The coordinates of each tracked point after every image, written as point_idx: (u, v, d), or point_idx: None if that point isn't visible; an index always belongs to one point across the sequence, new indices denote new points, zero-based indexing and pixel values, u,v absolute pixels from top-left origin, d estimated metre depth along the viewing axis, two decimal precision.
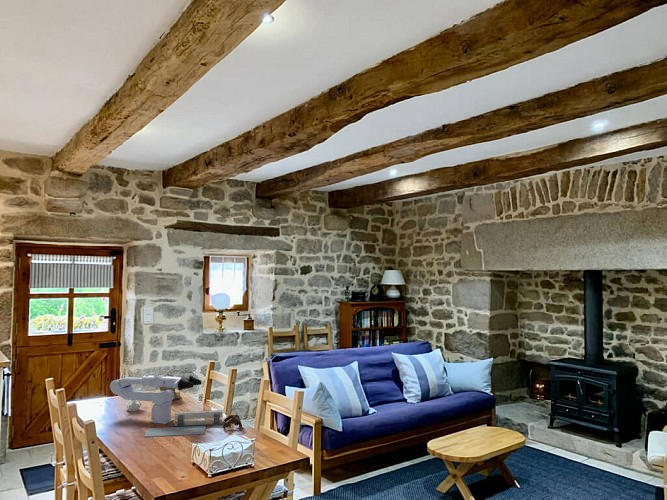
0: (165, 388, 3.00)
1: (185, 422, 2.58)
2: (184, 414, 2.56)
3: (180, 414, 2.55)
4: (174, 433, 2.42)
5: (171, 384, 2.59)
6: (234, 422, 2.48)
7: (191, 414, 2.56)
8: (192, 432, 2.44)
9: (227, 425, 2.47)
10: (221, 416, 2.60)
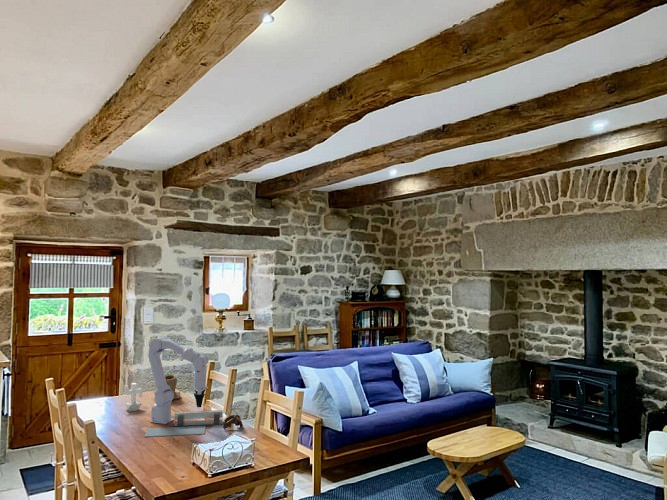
0: None
1: (185, 422, 2.58)
2: (184, 414, 2.56)
3: (180, 414, 2.55)
4: (174, 433, 2.42)
5: (198, 380, 2.57)
6: (235, 422, 2.48)
7: (191, 414, 2.56)
8: (192, 432, 2.44)
9: (228, 425, 2.47)
10: (221, 416, 2.60)
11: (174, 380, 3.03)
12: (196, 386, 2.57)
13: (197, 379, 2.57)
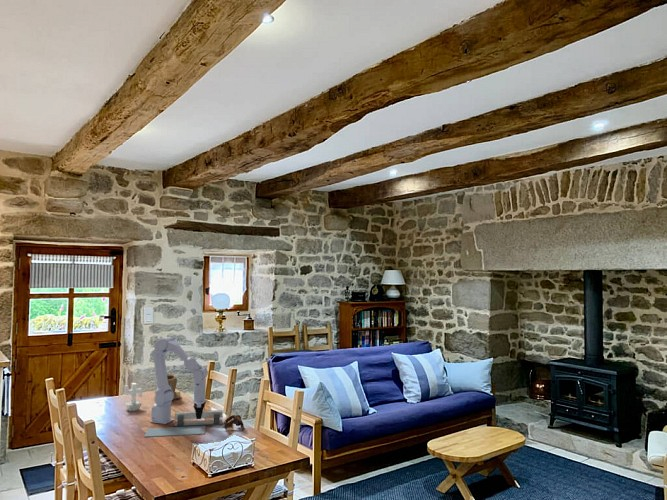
0: None
1: (185, 422, 2.58)
2: (184, 414, 2.56)
3: (180, 414, 2.55)
4: (174, 433, 2.42)
5: (198, 393, 2.56)
6: (236, 422, 2.48)
7: (191, 414, 2.56)
8: (192, 432, 2.44)
9: (229, 425, 2.47)
10: (221, 416, 2.60)
11: (174, 380, 3.03)
12: (196, 399, 2.56)
13: (197, 392, 2.56)
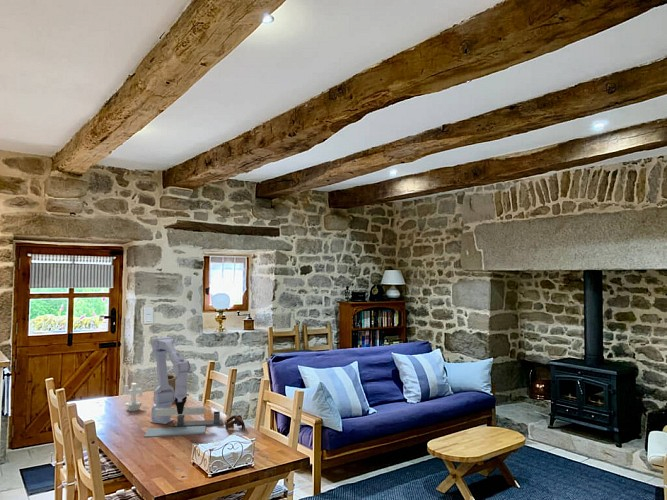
0: None
1: (185, 422, 2.58)
2: (165, 410, 2.45)
3: (161, 410, 2.45)
4: (174, 433, 2.42)
5: (179, 387, 2.46)
6: (237, 422, 2.47)
7: (172, 410, 2.46)
8: (192, 432, 2.44)
9: (230, 425, 2.46)
10: (204, 413, 2.50)
11: (174, 380, 3.03)
12: (177, 393, 2.46)
13: (175, 385, 2.47)
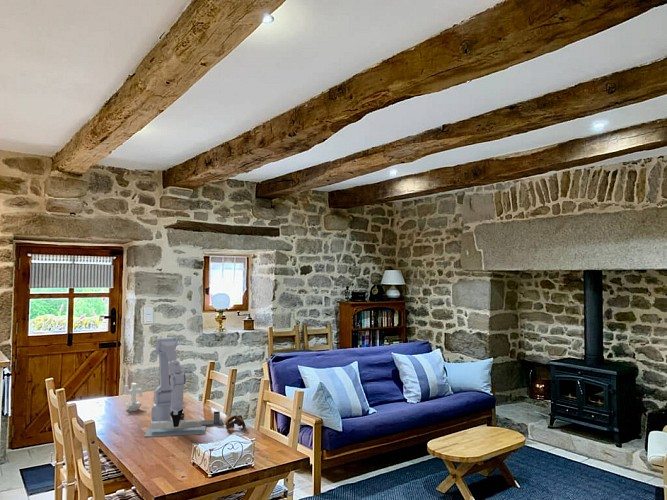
0: None
1: None
2: (160, 424, 2.43)
3: (156, 424, 2.43)
4: (174, 433, 2.42)
5: (175, 399, 2.44)
6: (238, 423, 2.47)
7: (168, 424, 2.44)
8: (192, 432, 2.44)
9: (231, 426, 2.46)
10: (200, 426, 2.47)
11: None
12: (173, 406, 2.44)
13: (171, 398, 2.45)
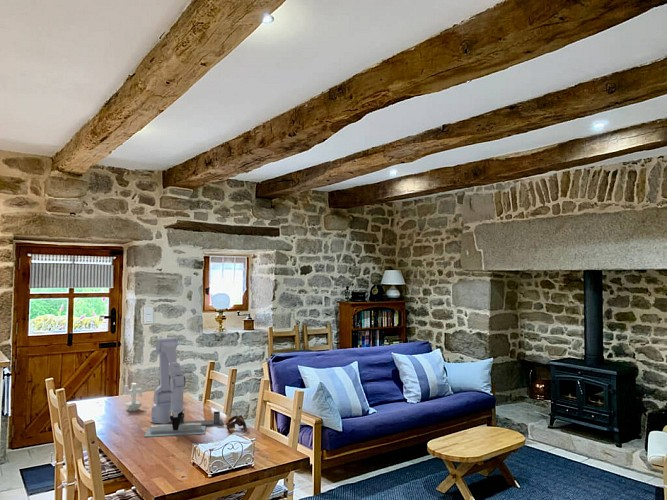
0: None
1: (185, 422, 2.58)
2: (160, 427, 2.43)
3: (156, 427, 2.43)
4: (174, 433, 2.42)
5: (175, 401, 2.44)
6: (238, 423, 2.47)
7: (168, 427, 2.44)
8: (192, 432, 2.44)
9: (231, 426, 2.46)
10: (199, 429, 2.47)
11: None
12: (172, 408, 2.44)
13: (171, 400, 2.45)
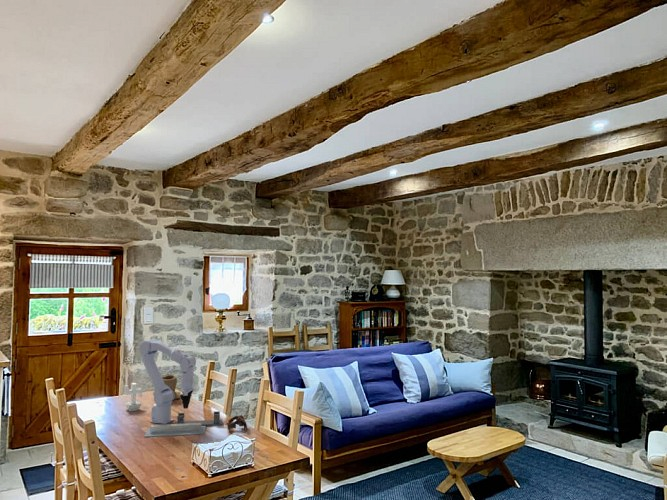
0: None
1: (185, 422, 2.58)
2: (160, 427, 2.43)
3: (156, 427, 2.43)
4: (174, 433, 2.42)
5: (185, 381, 2.56)
6: (239, 423, 2.47)
7: (168, 427, 2.44)
8: (192, 432, 2.44)
9: (232, 426, 2.46)
10: (199, 429, 2.47)
11: (174, 380, 3.03)
12: (183, 387, 2.56)
13: (183, 380, 2.56)
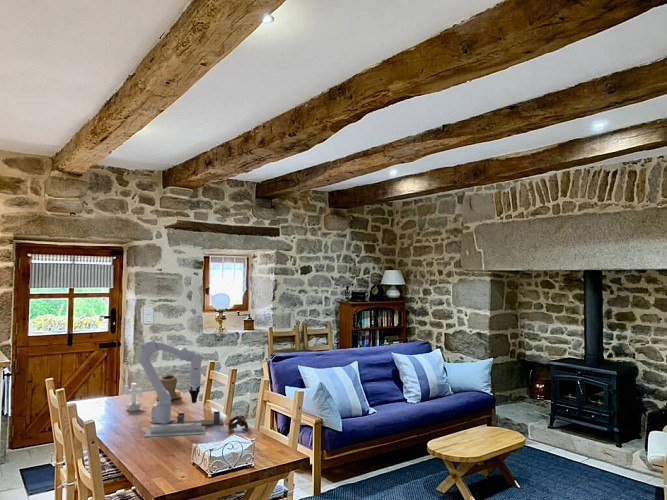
0: (165, 388, 3.00)
1: (185, 422, 2.58)
2: (160, 427, 2.43)
3: (156, 427, 2.43)
4: (174, 433, 2.42)
5: (193, 377, 2.66)
6: (240, 423, 2.47)
7: (168, 427, 2.44)
8: (192, 432, 2.44)
9: (233, 426, 2.46)
10: (199, 429, 2.47)
11: (174, 380, 3.03)
12: (191, 383, 2.67)
13: (195, 376, 2.67)
